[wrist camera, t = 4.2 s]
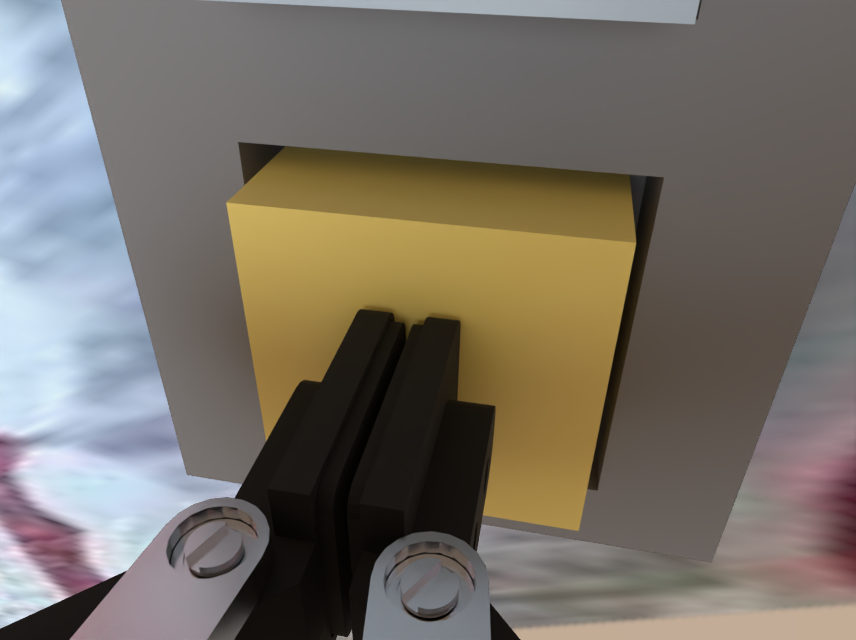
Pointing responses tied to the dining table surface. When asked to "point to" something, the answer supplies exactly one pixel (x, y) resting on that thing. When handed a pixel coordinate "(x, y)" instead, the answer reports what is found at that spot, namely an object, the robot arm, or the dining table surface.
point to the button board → (515, 145)
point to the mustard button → (449, 293)
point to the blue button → (530, 8)
